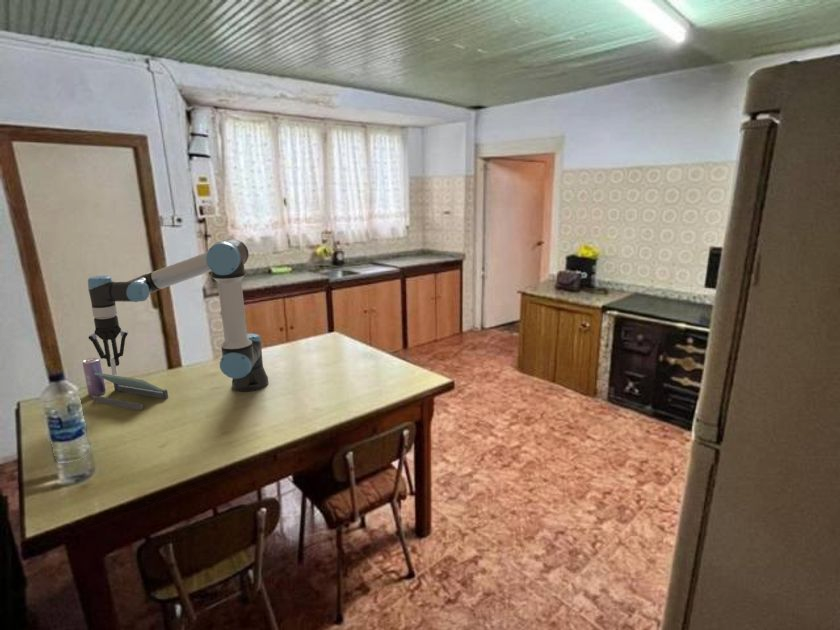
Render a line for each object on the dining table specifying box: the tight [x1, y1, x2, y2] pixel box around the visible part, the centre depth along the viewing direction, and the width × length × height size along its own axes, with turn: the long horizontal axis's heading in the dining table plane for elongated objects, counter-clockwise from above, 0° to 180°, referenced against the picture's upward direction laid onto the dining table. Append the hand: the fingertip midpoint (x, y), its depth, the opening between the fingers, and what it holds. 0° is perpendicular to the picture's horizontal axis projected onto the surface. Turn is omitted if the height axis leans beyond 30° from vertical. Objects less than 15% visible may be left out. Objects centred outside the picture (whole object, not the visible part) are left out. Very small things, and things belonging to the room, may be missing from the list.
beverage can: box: [82, 357, 107, 397], centre depth 189 cm, size 6×6×15 cm
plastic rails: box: [92, 383, 169, 411], centre depth 185 cm, size 27×12×4 cm, turn 74°
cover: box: [94, 372, 164, 392], centre depth 185 cm, size 24×13×1 cm
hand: (115, 373), depth 181 cm, fingers closed
